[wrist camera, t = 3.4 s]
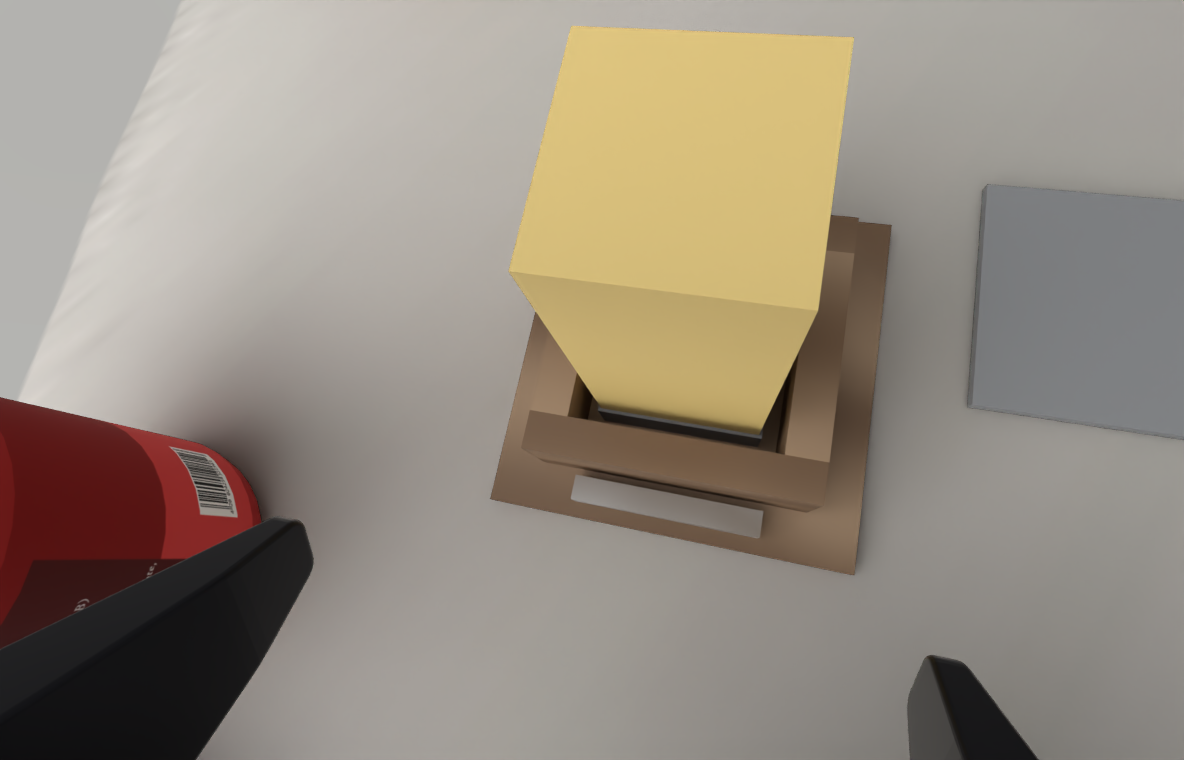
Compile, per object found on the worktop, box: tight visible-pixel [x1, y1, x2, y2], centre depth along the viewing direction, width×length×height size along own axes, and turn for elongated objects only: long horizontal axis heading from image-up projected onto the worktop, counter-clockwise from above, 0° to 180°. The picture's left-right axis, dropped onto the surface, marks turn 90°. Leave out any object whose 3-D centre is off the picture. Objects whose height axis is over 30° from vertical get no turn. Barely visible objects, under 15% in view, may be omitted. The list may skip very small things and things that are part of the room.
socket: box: [490, 215, 892, 575], centre depth 21 cm, size 12×12×4 cm
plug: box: [509, 26, 854, 447], centre depth 16 cm, size 5×5×12 cm
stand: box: [968, 184, 1184, 440], centre depth 21 cm, size 8×8×1 cm
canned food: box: [0, 397, 261, 649], centre depth 19 cm, size 8×8×11 cm
